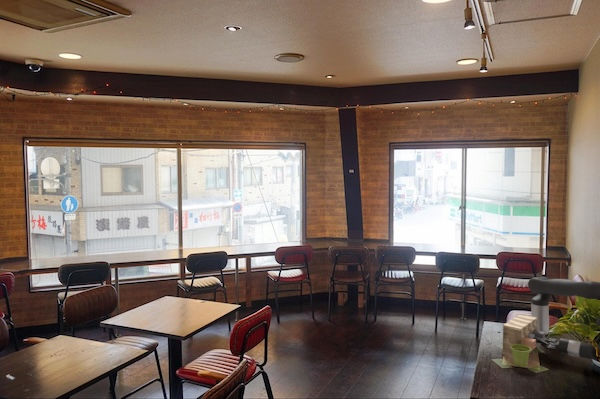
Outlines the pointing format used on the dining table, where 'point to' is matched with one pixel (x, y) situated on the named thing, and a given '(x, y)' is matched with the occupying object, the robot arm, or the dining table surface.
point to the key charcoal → (539, 334)
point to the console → (517, 332)
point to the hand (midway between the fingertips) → (533, 339)
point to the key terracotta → (529, 342)
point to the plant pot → (520, 354)
